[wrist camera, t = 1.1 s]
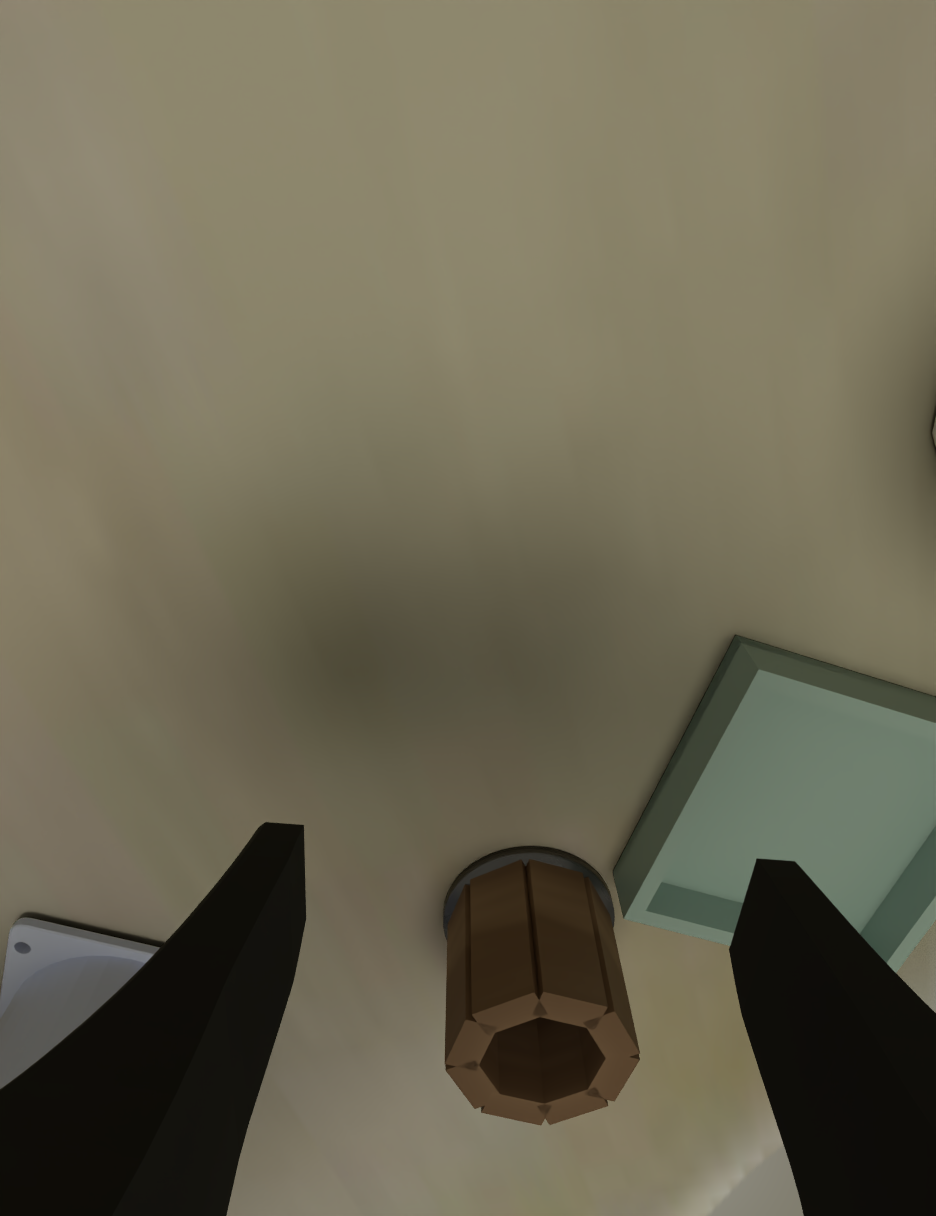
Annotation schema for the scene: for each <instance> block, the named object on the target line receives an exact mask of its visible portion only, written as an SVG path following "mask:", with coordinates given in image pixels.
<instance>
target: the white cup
mask: <svg viewBox="0 0 936 1216" xmlns="http://www.w3.org/2000/svg"><path fill="white" fill-rule="evenodd" d="M932 435H933V439H934V443H935V446H936V417H935V422H934V427H933V432H932Z"/></svg>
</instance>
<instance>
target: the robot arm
mask: <svg viewBox="0 0 936 1216" xmlns="http://www.w3.org/2000/svg"><path fill="white" fill-rule="evenodd" d="M305 921H306V898H305V855H304V825H296V824H282V823H269V822H265V823H264V824H263V825H261V826H260V827H259V828H258V829H257V830H256V832H255V833H254V835H253V836H252V838H251V839H250V840H249V842H248V843H247V845H246V846H245V847H244V849H243V850H242V851H241V853H240V854H239V855H238V857H237V858H236V859H235V861H234V862H233V863H232V865H231V866H230V867H229V868H228V870H227V871H226V872H225V873H224V875H223V876H222V877H221V879H220V880H219V881H218V882H217V884H216V885H215V886H214V887H213V888H212V890H211V891H210V892H209V893H208V894H207V896H206V897H205V898H204V899H203V900H202V901H201V903H200V904H199V905H198V906H197V907H196V909H195V910H194V911H193V912H192V913H191V914H190V916H189V917H188V918H187V919H186V920H185V921H184V923H183V924H182V925H181V926H180V927H179V928H178V929H177V930H176V931H175V933H174V934H173V935H172V936H171V937H170V938H169V939H168V940H167V941H166V942H165V943H164V944H163V945H162V946H161V947H156V946H151V945H147V944H143V943H138V942H134V941H130V940H125V939H121V938H117V937H112V936H108V935H103V934H99V933H95V932H90V931H86V930H82V929H77V928H73V927H69V926H64V925H60V924H55V923H51V922H47V921H42V920H38V919H34V918H20V919H18V920H17V921H15V923H14V925H13V926H12V928H11V929H10V932H9V937H8V944H7V951H6V958H5V965H4V973H3V980H2V987H1V994H0V1216H226V1215H227V1210H228V1206H229V1201H230V1197H231V1192H232V1188H233V1183H234V1179H235V1174H236V1170H237V1165H238V1161H239V1157H240V1153H241V1150H242V1146H243V1142H244V1139H245V1135H246V1132H247V1128H248V1124H249V1121H250V1118H251V1115H252V1112H253V1109H254V1106H255V1102H256V1099H257V1096H258V1093H259V1090H260V1087H261V1083H262V1080H263V1077H264V1074H265V1071H266V1068H267V1065H268V1061H269V1058H270V1055H271V1052H272V1049H273V1046H274V1043H275V1039H276V1036H277V1033H278V1030H279V1027H280V1024H281V1020H282V1017H283V1014H284V1011H285V1008H286V1004H287V1001H288V998H289V995H290V991H291V988H292V985H293V981H294V976H295V972H296V967H297V962H298V957H299V952H300V947H301V942H302V937H303V932H304V927H305ZM23 942H24V943H23ZM729 952H730V957H731V963H732V968H733V974H734V979H735V985H736V989H737V994H738V999H739V1004H740V1009H741V1013H742V1017H743V1020H744V1023H745V1027H746V1030H747V1033H748V1036H749V1039H750V1043H751V1046H752V1049H753V1052H754V1055H755V1058H756V1061H757V1064H758V1068H759V1071H760V1074H761V1077H762V1080H763V1083H764V1086H765V1089H766V1092H767V1095H768V1098H769V1101H770V1104H771V1107H772V1110H773V1113H774V1116H775V1119H776V1122H777V1126H778V1129H779V1132H780V1135H781V1138H782V1141H783V1144H784V1147H785V1150H786V1153H787V1156H788V1159H789V1162H790V1165H791V1169H792V1172H793V1176H794V1179H795V1183H796V1186H797V1190H798V1193H799V1197H800V1201H801V1205H802V1210H803V1214H804V1216H936V1013H935V1012H934V1011H933V1010H932V1009H931V1008H930V1007H929V1006H928V1005H927V1004H926V1003H925V1002H924V1001H923V1000H922V999H921V998H920V997H919V996H918V995H917V994H916V993H915V992H914V991H913V990H912V989H911V988H910V987H909V986H908V985H907V984H906V983H905V982H904V981H903V980H902V979H901V978H900V977H899V976H898V975H897V974H896V973H895V972H894V971H893V970H892V968H891V967H890V966H889V965H888V964H887V963H886V962H885V961H884V960H883V959H882V958H881V957H880V956H879V955H878V953H877V952H876V951H875V950H874V949H873V948H872V947H871V946H870V945H869V944H868V943H867V941H866V940H865V939H864V938H863V937H862V936H861V935H860V934H859V933H858V932H857V930H856V929H855V928H854V927H853V926H852V925H851V924H850V923H849V921H848V920H847V919H846V918H845V917H844V916H843V915H842V914H841V912H840V911H839V910H838V909H837V908H836V907H835V906H834V905H833V903H832V902H831V901H830V900H829V899H828V898H827V897H826V895H825V894H824V893H823V892H822V891H821V890H820V889H819V887H818V886H817V885H816V884H815V883H814V882H813V881H812V879H811V878H810V877H809V876H808V875H807V874H806V873H805V872H804V871H803V869H802V868H801V867H800V866H799V865H798V864H797V863H796V862H795V861H786V860H772V859H758V858H757V859H756V862H755V866H754V869H753V872H752V876H751V879H750V882H749V885H748V889H747V892H746V895H745V899H744V902H743V905H742V909H741V912H740V915H739V919H738V922H737V925H736V928H735V932H734V935H733V938H732V942H731V945H730V948H729Z"/></svg>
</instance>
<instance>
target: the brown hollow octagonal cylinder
mask: <svg viewBox="0 0 936 1216" xmlns="http://www.w3.org/2000/svg"><path fill="white" fill-rule="evenodd" d="M639 1053H640V1051H639V1046H638V1042H637V1037H636V1033H635V1028H634V1023H633V1019H632V1014H631V1009H630V1005H629V1000H628V995H627V991H626V986H625V982H624V977H623V972H622V968H621V963H620V958H619V954H618V949H617V945H616V940H615V935H614V931H613V926H612V921H611V917H610V914H609V912H608V910H607V909H606V907H605V905H604V903H603V902H602V900H601V898H600V896H599V895H598V893H597V891H596V889H595V887H594V886H593V884H592V882H591V880H590V879H589V877H586V878H584V877H583V873H582V872H578V871H574V870H570V869H567V868H563V867H559V866H555V865H551V864H547V863H543V862H540V861H536V860H532V859H529V861H528V863H527V865H526V866H525V864H524V863H523V861H522V859H521V860H518V861H516V862H513V863H511V864H508V865H506V866H503V867H500V868H498V869H495V870H493V871H490V872H488V873H485V874H483V875H480V876H478V877H475V878H472V879H470V885H467V884H465V885H464V887H463V890H462V892H461V894H460V897H459V899H458V902H457V904H456V906H455V909H454V911H453V913H452V916H451V918H450V920H449V923H448V934H447V982H446V1030H445V1064H446V1072H447V1073H448V1074H449V1075H450V1077H451V1078H452V1079H453V1081H454V1082H455V1083H456V1085H457V1086H458V1087H459V1089H460V1090H461V1091H462V1093H463V1094H464V1095H465V1097H466V1098H467V1099H468V1101H469V1102H470V1103H471V1105H472V1106H473V1107H474V1109H476V1108H479V1107H481V1113H485V1114H490V1115H495V1116H499V1117H504V1118H509V1119H514V1120H518V1121H523V1122H528V1123H532V1124H537V1125H542V1123H543V1121H544V1119H546V1120H547V1122H548V1123H549V1124H550V1125H551V1124H554V1123H557V1122H560V1121H563V1120H566V1119H570V1118H573V1117H576V1116H579V1115H582V1114H585V1113H588V1112H591V1111H594V1110H597V1109H600V1108H603V1107H606V1106H608V1102H607V1100H610V1101H615V1100H616V1098H617V1096H618V1095H619V1093H620V1091H621V1090H622V1088H623V1086H624V1085H625V1083H626V1082H627V1080H628V1078H629V1077H630V1075H631V1073H632V1072H633V1070H634V1068H635V1067H636V1065H637V1063H638V1062H639V1060H640V1058H639Z"/></svg>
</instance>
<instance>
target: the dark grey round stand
mask: <svg viewBox="0 0 936 1216" xmlns="http://www.w3.org/2000/svg"><path fill="white" fill-rule="evenodd" d="M521 859H522V861H523V863H524V864H525V866H526V865H527V863H528V861H529V859H532V860H536V861H540V862H543V863H547V864H551V865H555V866H559V867H563V868H567V869H570V870H574V871H578V872H582V873H583V877H584V878H586V877H589V879H590V880H591V882H592V884H593V886H594V887H595V889H596V891H597V893H598V895H599V896H600V898H601V900H602V902H603V903H604V905H605V907H606V909H607V910H608V912H609V914H610V917H611V921H612V926H613V927H614V918H615V917H614V908H613V903H612V899H611V895H610V892H609V889H608V887H607V885H606V883H605V882H604V880H603V879H602V877H601V876H600V875H599V874H598V873H597V871H596V870H595V869H593V868H592V867H591V866H590V865H589V864H587V863H586V862H584V861H583V860H581V859H579V858H578V857H575V856H573V855H571V854H569V853H566V852H563V851H560V850H556V849H551V848H544V847H518V848H511V849H506V850H502V851H499V852H496V853H493V854H490V855H488V856H486V857H484V858H482V859H480V860H478V861H477V862H475V863H473V864H472V865H470V866H469V867H468V868H467V869H465V870H464V871H463V872H462V873H461V874H460V875H459V876H458V877H457V879H456V880H455V881H454V883H453V884H452V886H451V888H450V890H449V892H448V894H447V897H446V900H445V904H444V914H443V925H444V932H445V937H446V939H447V934H448V923H449V920H450V918H451V916H452V913H453V911H454V909H455V906H456V904H457V902H458V899H459V897H460V894H461V892H462V890H463V887H464V885H465V884H467V885H470V879H472V878H475V877H478V876H480V875H483V874H485V873H488V872H490V871H493V870H495V869H498V868H500V867H503V866H506V865H508V864H511V863H513V862H516V861H518V860H521Z"/></svg>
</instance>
